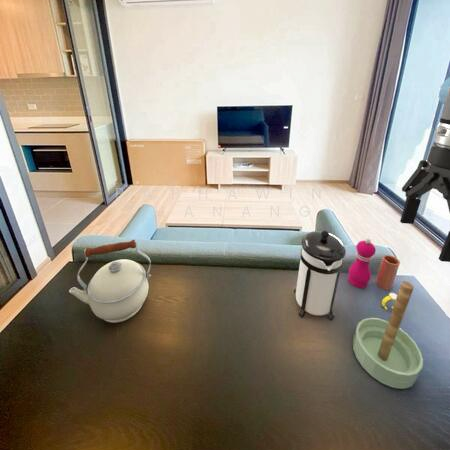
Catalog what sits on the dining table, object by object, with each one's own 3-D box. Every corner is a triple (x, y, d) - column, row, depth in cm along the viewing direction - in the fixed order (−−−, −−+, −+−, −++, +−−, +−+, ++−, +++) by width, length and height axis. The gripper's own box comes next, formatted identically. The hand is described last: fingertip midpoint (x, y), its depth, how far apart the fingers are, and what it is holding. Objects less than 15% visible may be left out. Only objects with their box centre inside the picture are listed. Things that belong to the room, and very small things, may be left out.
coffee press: (346, 308, 83) (365, 234, 72) (317, 333, 75) (333, 254, 64) (305, 276, 96) (315, 209, 86) (276, 295, 88) (283, 223, 77)
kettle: (153, 277, 96) (146, 223, 87) (156, 318, 79) (148, 256, 70) (82, 294, 88) (66, 236, 79) (69, 342, 72) (48, 276, 63)
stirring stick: (382, 351, 69) (407, 280, 60) (389, 360, 67) (416, 287, 58) (375, 352, 69) (399, 281, 60) (382, 361, 67) (408, 289, 58)
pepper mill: (350, 288, 91) (360, 244, 84) (344, 274, 98) (354, 232, 90) (371, 291, 90) (383, 246, 83) (363, 276, 96) (375, 234, 89)
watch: (396, 306, 84) (401, 293, 82) (401, 313, 81) (406, 300, 79) (379, 305, 84) (383, 292, 82) (383, 312, 82) (387, 299, 80)
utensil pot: (383, 279, 95) (391, 254, 91) (395, 289, 91) (403, 263, 86) (372, 281, 94) (379, 256, 90) (383, 291, 90) (391, 265, 85)
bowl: (383, 327, 77) (388, 313, 75) (431, 382, 63) (438, 367, 61) (341, 337, 74) (344, 323, 72) (380, 397, 60) (386, 381, 58)
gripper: (399, 132, 59) (379, 210, 66) (496, 167, 35) (448, 281, 43) (433, 133, 58) (409, 212, 65) (554, 169, 35) (494, 284, 42)
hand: (424, 239), depth 54 cm, fingers open, 13 cm apart
